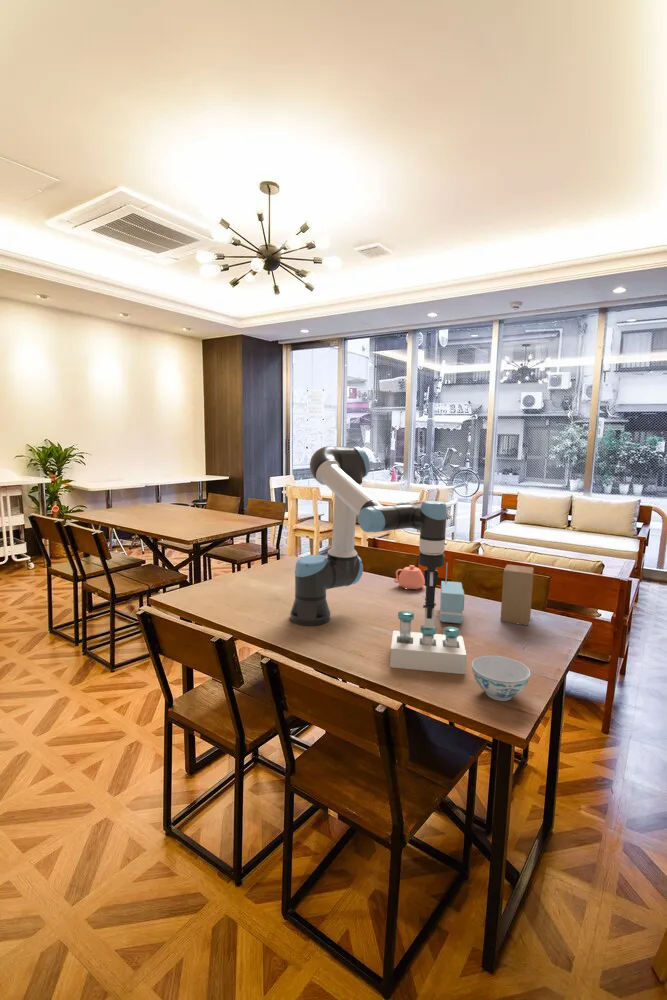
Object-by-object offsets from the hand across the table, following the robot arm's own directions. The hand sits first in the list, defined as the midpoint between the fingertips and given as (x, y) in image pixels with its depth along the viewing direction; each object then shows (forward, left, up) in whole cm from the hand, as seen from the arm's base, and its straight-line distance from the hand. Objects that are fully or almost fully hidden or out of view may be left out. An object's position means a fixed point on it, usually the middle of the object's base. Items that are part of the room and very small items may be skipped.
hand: (428, 627), depth 155 cm
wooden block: (+34, +43, -11) cm, 56 cm away
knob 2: (+7, 0, -10) cm, 12 cm away
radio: (+10, +40, -11) cm, 43 cm away
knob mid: (0, 0, -10) cm, 10 cm away
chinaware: (+19, -17, -11) cm, 28 cm away
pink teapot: (-7, +75, -11) cm, 76 cm away
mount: (0, 0, -11) cm, 11 cm away
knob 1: (-7, 0, -6) cm, 9 cm away
